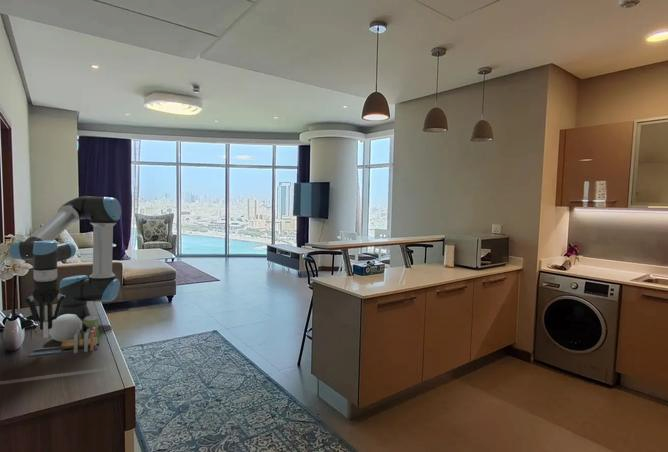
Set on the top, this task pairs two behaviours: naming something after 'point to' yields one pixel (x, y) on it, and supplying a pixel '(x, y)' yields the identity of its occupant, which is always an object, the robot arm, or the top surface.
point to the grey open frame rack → (56, 351)
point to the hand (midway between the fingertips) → (46, 336)
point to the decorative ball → (65, 327)
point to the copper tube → (70, 343)
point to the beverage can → (91, 324)
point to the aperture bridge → (92, 338)
